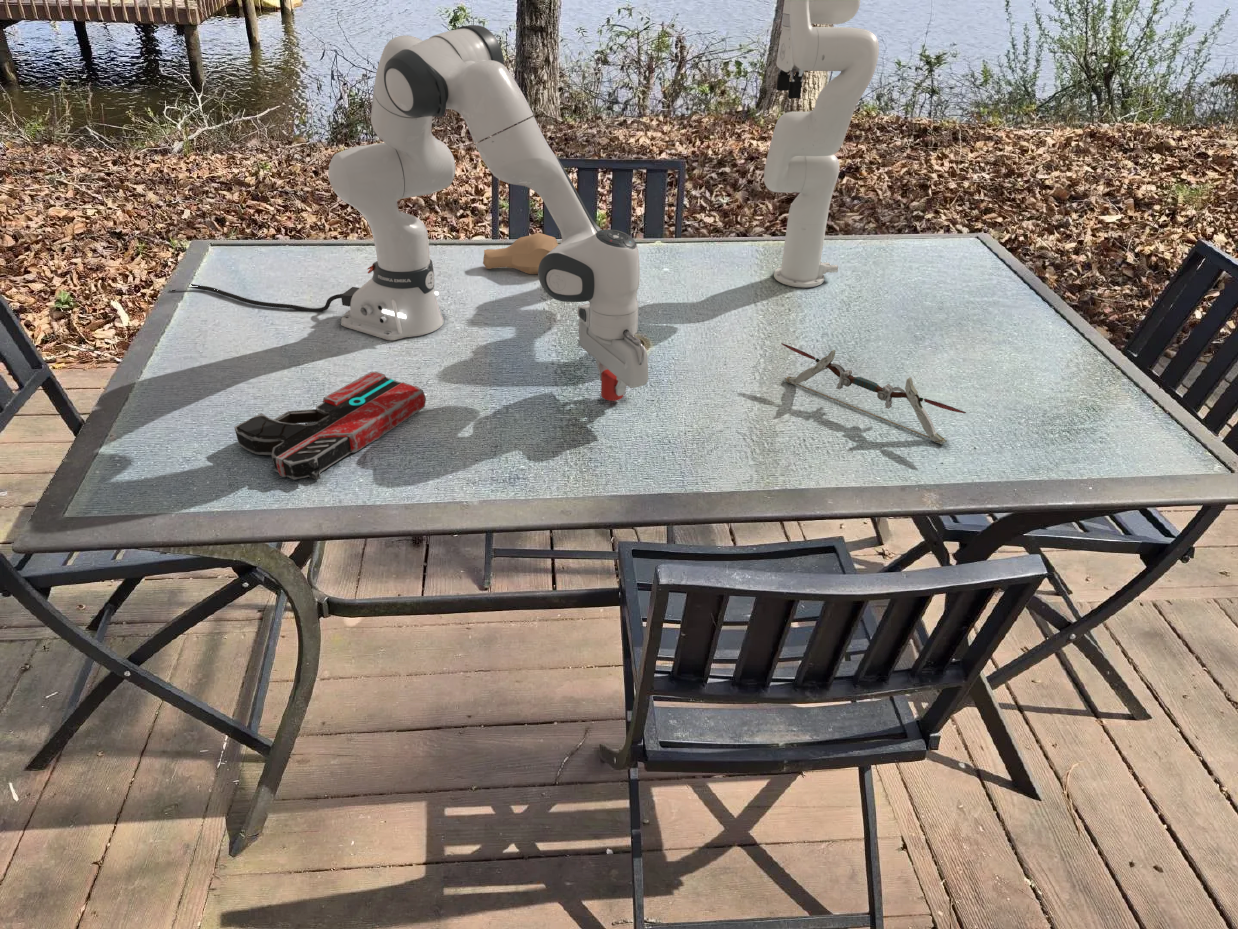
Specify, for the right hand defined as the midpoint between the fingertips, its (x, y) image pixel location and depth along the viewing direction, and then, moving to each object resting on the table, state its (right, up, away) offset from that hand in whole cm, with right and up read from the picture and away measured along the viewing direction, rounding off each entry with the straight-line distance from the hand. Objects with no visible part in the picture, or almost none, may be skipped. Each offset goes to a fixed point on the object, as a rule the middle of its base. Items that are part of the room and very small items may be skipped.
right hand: (788, 93), depth 230 cm
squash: (-69, -48, -6) cm, 84 cm away
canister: (-46, -84, -62) cm, 114 cm away
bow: (+2, -87, -62) cm, 107 cm away
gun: (-95, -91, -73) cm, 151 cm away
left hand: (-46, -83, -63) cm, 114 cm away
